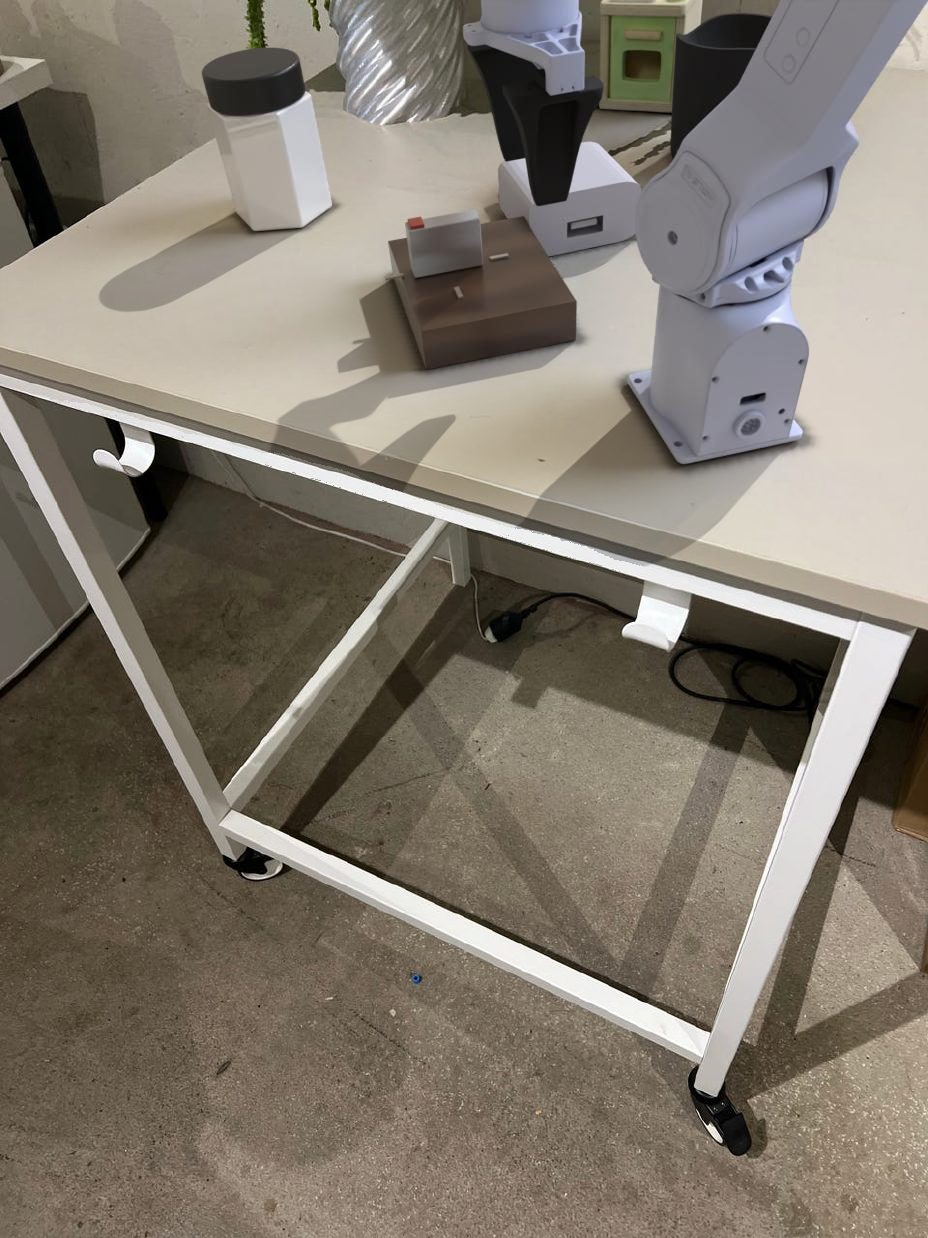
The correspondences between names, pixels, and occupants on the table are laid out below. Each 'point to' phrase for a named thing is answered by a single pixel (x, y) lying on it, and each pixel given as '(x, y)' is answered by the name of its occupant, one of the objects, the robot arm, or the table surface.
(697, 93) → the pen holder
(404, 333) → the table surface
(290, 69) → the jar
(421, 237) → the block
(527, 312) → the brown square block base
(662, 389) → the robot arm
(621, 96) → the toy kitchen stove
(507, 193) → the charger
